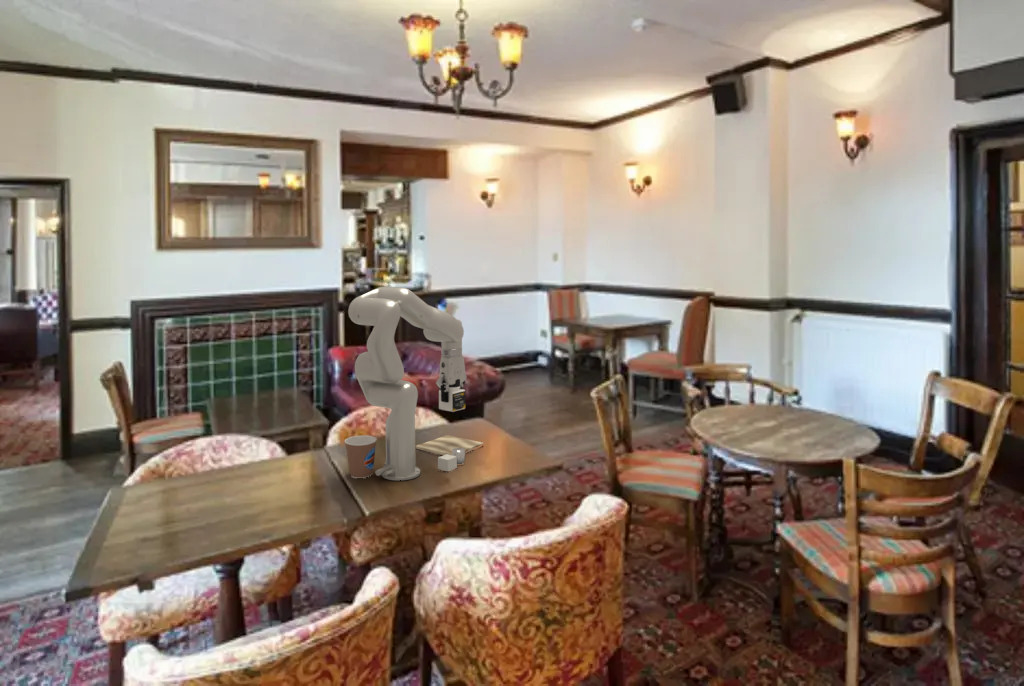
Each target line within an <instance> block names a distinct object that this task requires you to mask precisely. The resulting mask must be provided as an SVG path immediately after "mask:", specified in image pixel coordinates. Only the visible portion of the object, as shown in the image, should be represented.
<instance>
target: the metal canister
mask: <svg viewBox="0 0 1024 686" xmlns="http://www.w3.org/2000/svg"><path fill="white" fill-rule="evenodd" d="M465 455H466V454H465V449H463V448H454V449H452V456H457V464H462V463H464V462H465V460H466V456H465Z"/></svg>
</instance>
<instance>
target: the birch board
mask: <svg viewBox="0 0 1024 686" xmlns="http://www.w3.org/2000/svg"><path fill="white" fill-rule="evenodd" d="M482 444H484V442H481V441H476V440H472V439H469V438H467V439H466V438H462V437H458V436H453V435H449V434H446V435H443V436H440V437H438V438H435V439H431V440H429V441H426V442H422V443H419V444H417V445H416V444H415V449H416V448H417V449H421V450H425V451H430V452H435V453H438V454H443V455H446V454H448V455H452V449H454V448H463V449H465V452H466V451H468V450H471V449H473V448H475V447H478V446H480V445H482ZM484 445H485V444H484Z"/></svg>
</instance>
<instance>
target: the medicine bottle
mask: <svg viewBox="0 0 1024 686" xmlns="http://www.w3.org/2000/svg"><path fill="white" fill-rule="evenodd" d="M445 383H446V382H445ZM444 387H446V385H444ZM459 388H460V379H457V380H456V381H455V384H453V385H449V388H448V391H447V392H449V402H447V403H446V402H442V401H441V391H440V389H439V390H438V409H439V410H441V411H446V412H452V413H454V412H457V411H461V410H465V409H466V390H465V389H459Z"/></svg>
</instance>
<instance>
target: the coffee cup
mask: <svg viewBox="0 0 1024 686" xmlns="http://www.w3.org/2000/svg"><path fill="white" fill-rule="evenodd" d="M377 441H378V438H377V437H375V436H374V435H373V436H372V435H355V436H349V437H347V438H346V439H344V443H345V448H346V449H345V450H346V454H347V455H346V456H347V462H348V468H349V469H348V470H349V474H350V477H351V478H353V479H357V478H363V479H367V478H366V477H368V478H370V477H371V475H372V476H373V472H374V467H375V456H376V444H377ZM369 476H370V477H369Z"/></svg>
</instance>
